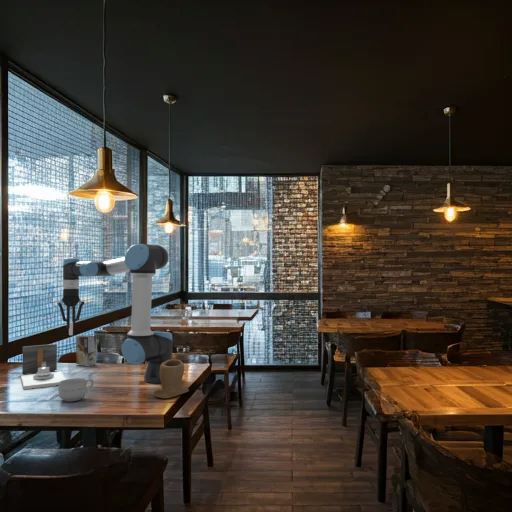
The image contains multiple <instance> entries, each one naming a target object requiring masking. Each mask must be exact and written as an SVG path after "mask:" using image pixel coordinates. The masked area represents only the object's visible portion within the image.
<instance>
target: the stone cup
mask: <svg viewBox="0 0 512 512" xmlns="http://www.w3.org/2000/svg"><path fill="white" fill-rule="evenodd" d="M184 373H185V363H184V362H183V361H182V360H180V359H176V358H175V359H173V358H172V359H171V360H167V361H165V362H163V363H162V364H161V365H160V372H159V375H160V380H161V383H160V384H161V389H158V390H155V391H154V392H153V396H155V397H156V398H161V399H170V398H174V397H176V396H181V395H183V394H185V393H188V392H190V390H189V388H188V387H187V386H186V384H184V383H182V381H183V376H184Z"/></svg>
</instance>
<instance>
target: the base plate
mask: <svg viewBox="0 0 512 512" xmlns="http://www.w3.org/2000/svg"><path fill="white" fill-rule="evenodd" d="M49 373H51V374H54V377H52V378H48V379H33V376H34V375H37V374H38V373H34V374H25V375H21V376H20V378H21V379H20V380H21V384H23V385H22V389H23V390H25V389H26V390H32V388H34V389H40V388H41V387H42V388H49V387H48V386H50V387H56V385H59V384H58V382H60V381H63V380H67V378H66V377H65V375H64V374H63V372H62V371H53V372H49Z"/></svg>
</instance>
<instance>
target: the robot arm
mask: <svg viewBox="0 0 512 512" xmlns="http://www.w3.org/2000/svg"><path fill="white" fill-rule="evenodd" d="M169 256H170V255H169V253H168V250H167V249H166V248H165V247H163V246H162V245H159V244H146V243H137V244H136V243H135V244H132V245H131V246H130V247H129V248H128V249H127V250H126V252H125V255H124V257H120V258H115V259H111V260H106V261H92V260H91V261H88V260H87V261H80V259H79V258H77V257H66V258H63V260H62V261H63V262H62V263H63V264H62V276H63V277H62V288H63V290H62V299H61V300H60V301H59V302H57V305H58V307H59V310H60V314H61V318H62V321H63V322H66V329H68V335H69V336H73V335H74V333H73V332H74V329H75V328H76V322H77V321H79V320H80V317H81V313H82V310H83V306H84V305H85V301H83V300H81V297H80V289H79V287H80V277H83V278H84V277H86V278H91V277H113V276H114V275H117V274H125V273H128V272H129V274H130V275H131V276H132V292H131V293H132V298H131V320H130V323H131V324H130V330H129V331H128V332H127V333H126V334H127V335H126V339H125V340H123V342H122V344H121V354H122V357H123V358H124V360H125V361H126V362H127V363H128V364H131V365H140V364H143V363H146V362H147V365H146V369H145V370H144V375H143V381H144V382H145V383H149V382H150V383H149V384H161V380H160V375H159V372H160V365H161V364H162V363H163V362H165V361H167V360H171V359H173V340H174V339H173V334H172V333H171V332H169V331H154V330H153V331H152V330H151V323H152V322H151V321H152V298H153V297H152V292H153V291H152V290H153V277H154V276H156V274H157V270H161V269H163V268H165V266H167V265H168V262H169V258H170V257H169ZM78 304H79V305H78ZM63 305H65V307H66V314H65V311H64V307H63ZM77 305H78V309H77V313H76V306H77ZM65 315H66V316H65ZM70 320H71V321H70Z"/></svg>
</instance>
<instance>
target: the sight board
mask: <svg viewBox="0 0 512 512" xmlns="http://www.w3.org/2000/svg"><path fill="white" fill-rule="evenodd" d="M57 358H58V344H57V343H53V344H38V345H28V346H25V345H24V346H22V363H21V364H22V368H21V369H22V370H21V371H22V372H21V373H22V374H25V375H28V374H27V373H34V374H37V373H36V372H38V368H39V367H41V366H42V362H46V367H49V371H53V372H56V371H55V370H57V371H58V369H57V368H58V367H57V366H58V359H57Z"/></svg>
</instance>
